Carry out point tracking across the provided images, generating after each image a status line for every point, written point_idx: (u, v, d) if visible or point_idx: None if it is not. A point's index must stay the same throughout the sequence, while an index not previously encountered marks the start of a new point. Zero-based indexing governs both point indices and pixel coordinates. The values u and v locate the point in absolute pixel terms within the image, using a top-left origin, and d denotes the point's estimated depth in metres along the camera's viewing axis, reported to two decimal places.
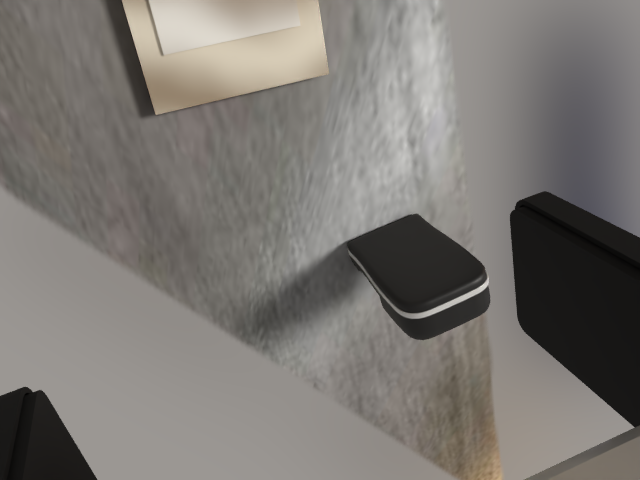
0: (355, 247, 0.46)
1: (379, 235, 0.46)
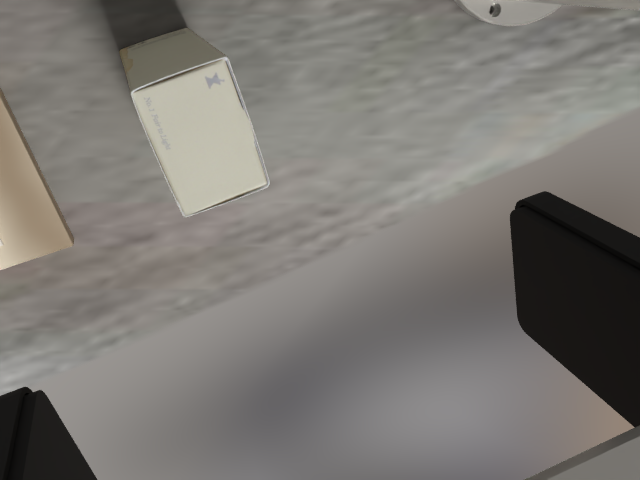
0: None
1: None
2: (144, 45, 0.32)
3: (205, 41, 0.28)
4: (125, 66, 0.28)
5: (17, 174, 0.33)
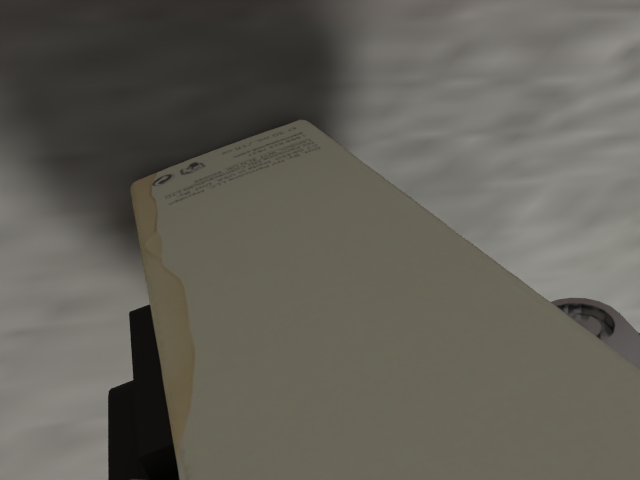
0: None
1: None
2: (203, 186, 0.11)
3: (465, 241, 0.07)
4: (162, 343, 0.07)
5: None
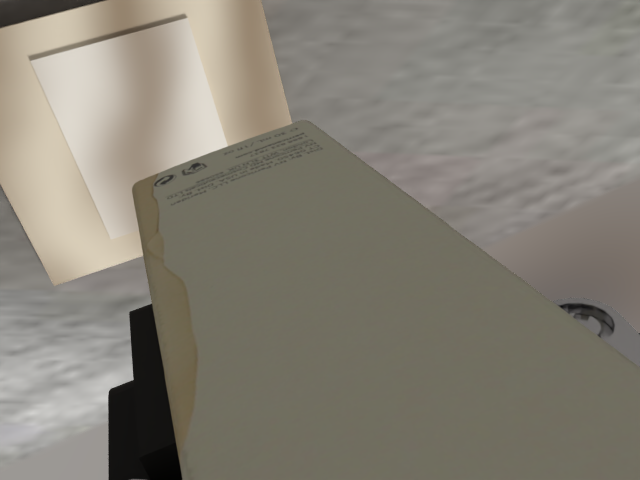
0: None
1: None
2: (205, 187, 0.11)
3: (468, 242, 0.07)
4: (164, 345, 0.07)
5: (269, 113, 0.29)
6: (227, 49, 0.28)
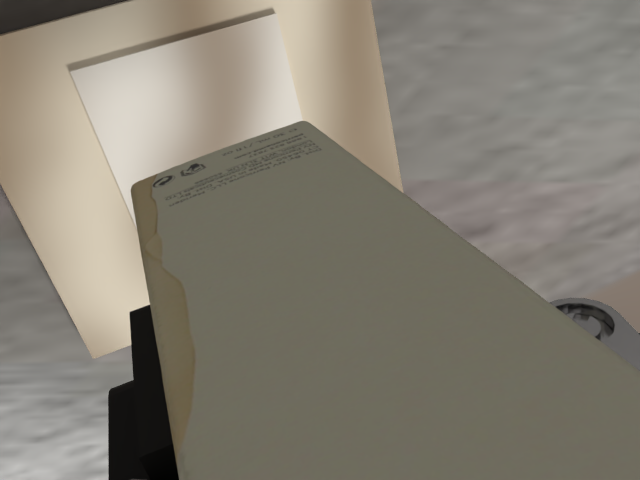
0: None
1: None
2: (204, 187, 0.11)
3: (467, 244, 0.07)
4: (162, 346, 0.07)
5: (368, 136, 0.23)
6: (323, 54, 0.21)
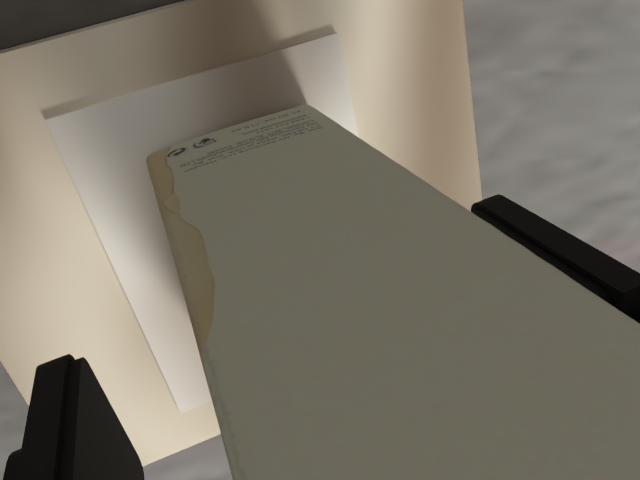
0: None
1: None
2: (215, 157, 0.12)
3: (449, 199, 0.09)
4: (184, 276, 0.08)
5: (450, 193, 0.17)
6: (397, 88, 0.15)
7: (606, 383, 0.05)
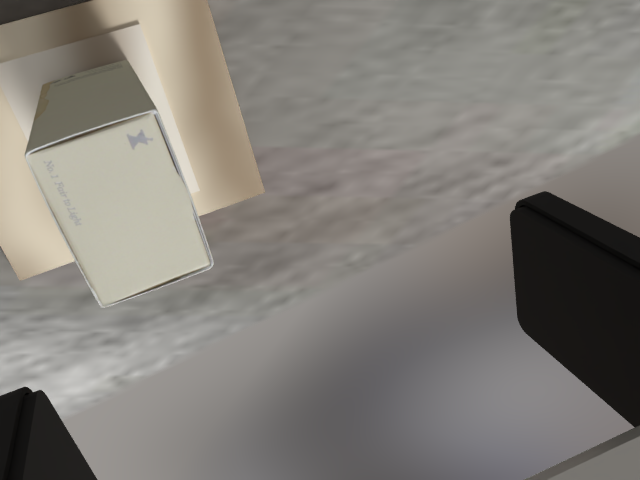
0: None
1: None
2: (70, 81, 0.26)
3: (139, 82, 0.23)
4: (36, 110, 0.22)
5: (221, 112, 0.31)
6: (179, 53, 0.29)
7: (126, 108, 0.19)
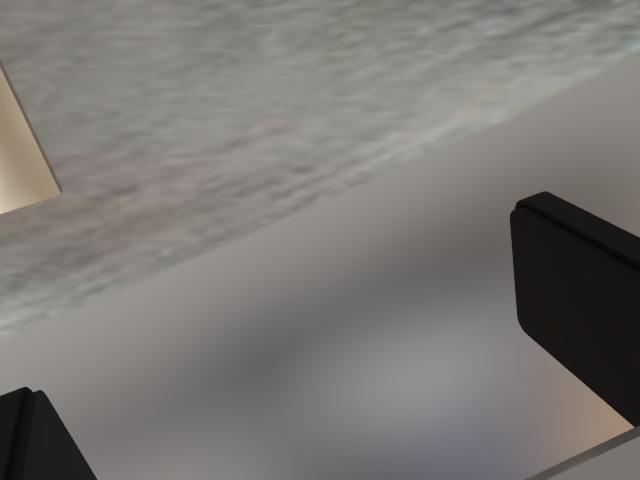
0: None
1: None
2: None
3: None
4: None
5: (8, 125, 0.36)
6: None
7: None
